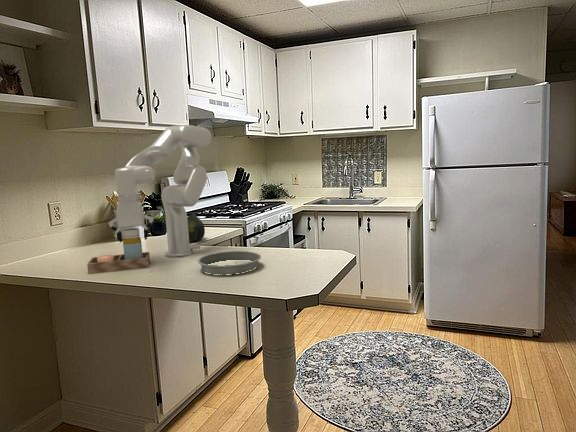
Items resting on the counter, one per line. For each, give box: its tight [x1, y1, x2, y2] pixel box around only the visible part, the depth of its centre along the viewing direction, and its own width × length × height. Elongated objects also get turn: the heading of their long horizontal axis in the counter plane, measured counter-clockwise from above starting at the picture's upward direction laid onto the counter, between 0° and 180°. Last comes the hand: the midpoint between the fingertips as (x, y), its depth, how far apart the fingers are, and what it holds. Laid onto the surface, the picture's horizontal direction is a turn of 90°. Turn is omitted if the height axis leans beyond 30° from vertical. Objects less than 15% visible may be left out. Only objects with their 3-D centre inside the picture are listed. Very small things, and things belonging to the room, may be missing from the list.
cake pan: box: [197, 250, 262, 275], centre depth 174 cm, size 25×25×4 cm
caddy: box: [86, 251, 151, 275], centre depth 179 cm, size 22×12×5 cm, turn 104°
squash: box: [187, 213, 206, 243], centre depth 232 cm, size 14×15×15 cm
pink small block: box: [96, 254, 114, 262], centre depth 178 cm, size 6×6×5 cm
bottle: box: [122, 227, 143, 260], centre depth 180 cm, size 7×7×15 cm
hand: (133, 240), depth 180 cm, fingers open, 9 cm apart
